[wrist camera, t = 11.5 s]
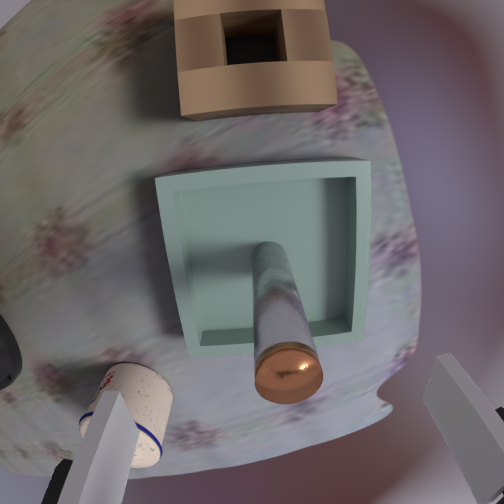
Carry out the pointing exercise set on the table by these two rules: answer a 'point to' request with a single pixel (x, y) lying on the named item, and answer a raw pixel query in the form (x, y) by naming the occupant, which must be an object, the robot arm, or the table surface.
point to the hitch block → (253, 74)
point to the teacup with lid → (138, 407)
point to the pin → (281, 331)
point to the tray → (267, 230)
